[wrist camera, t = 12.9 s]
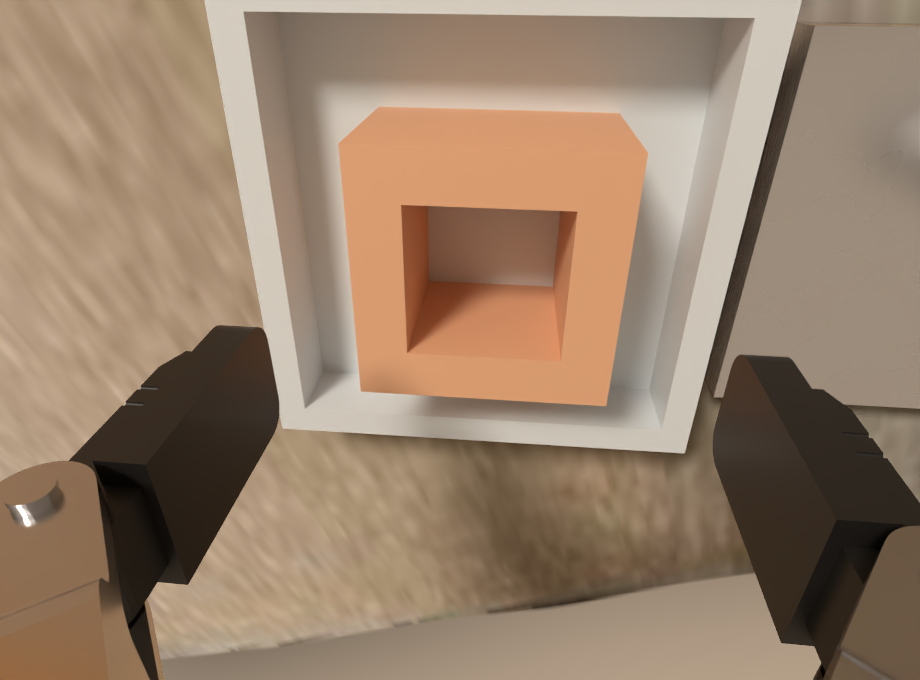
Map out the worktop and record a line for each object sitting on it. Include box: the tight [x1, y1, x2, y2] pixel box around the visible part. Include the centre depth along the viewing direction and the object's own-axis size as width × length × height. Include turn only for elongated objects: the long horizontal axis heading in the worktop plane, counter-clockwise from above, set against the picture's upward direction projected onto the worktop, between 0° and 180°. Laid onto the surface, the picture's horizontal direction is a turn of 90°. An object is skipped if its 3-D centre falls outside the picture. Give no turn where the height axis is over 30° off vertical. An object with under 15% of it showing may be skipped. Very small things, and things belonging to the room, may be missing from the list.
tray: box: [205, 0, 802, 453], centre depth 16 cm, size 12×12×2 cm
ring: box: [338, 107, 648, 406], centre depth 15 cm, size 6×6×4 cm
